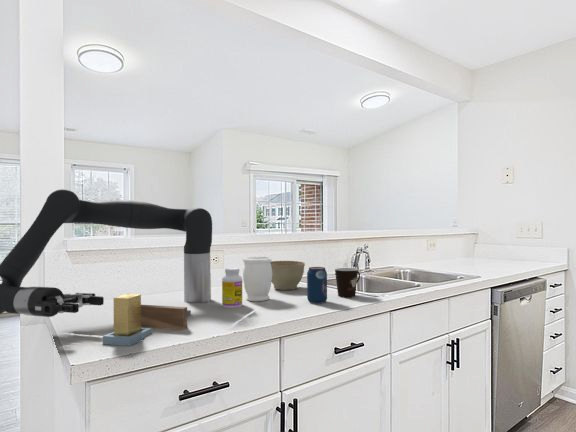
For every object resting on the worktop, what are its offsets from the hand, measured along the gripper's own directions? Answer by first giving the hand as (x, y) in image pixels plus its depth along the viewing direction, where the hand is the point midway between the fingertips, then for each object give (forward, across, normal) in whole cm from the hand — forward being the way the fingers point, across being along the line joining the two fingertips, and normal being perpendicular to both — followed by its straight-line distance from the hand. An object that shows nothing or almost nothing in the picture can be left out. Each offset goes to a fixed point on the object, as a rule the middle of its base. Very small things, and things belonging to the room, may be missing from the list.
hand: (90, 304), depth 100 cm
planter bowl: (+30, +77, +8) cm, 83 cm away
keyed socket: (+11, 0, +8) cm, 14 cm away
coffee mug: (+58, +67, +8) cm, 89 cm away
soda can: (+48, +53, +8) cm, 72 cm away
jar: (+26, +53, +8) cm, 60 cm away
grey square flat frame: (+11, +20, +8) cm, 24 cm away
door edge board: (+11, +10, +8) cm, 17 cm away
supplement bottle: (+22, +39, +8) cm, 45 cm away
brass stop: (+11, 0, +7) cm, 13 cm away
